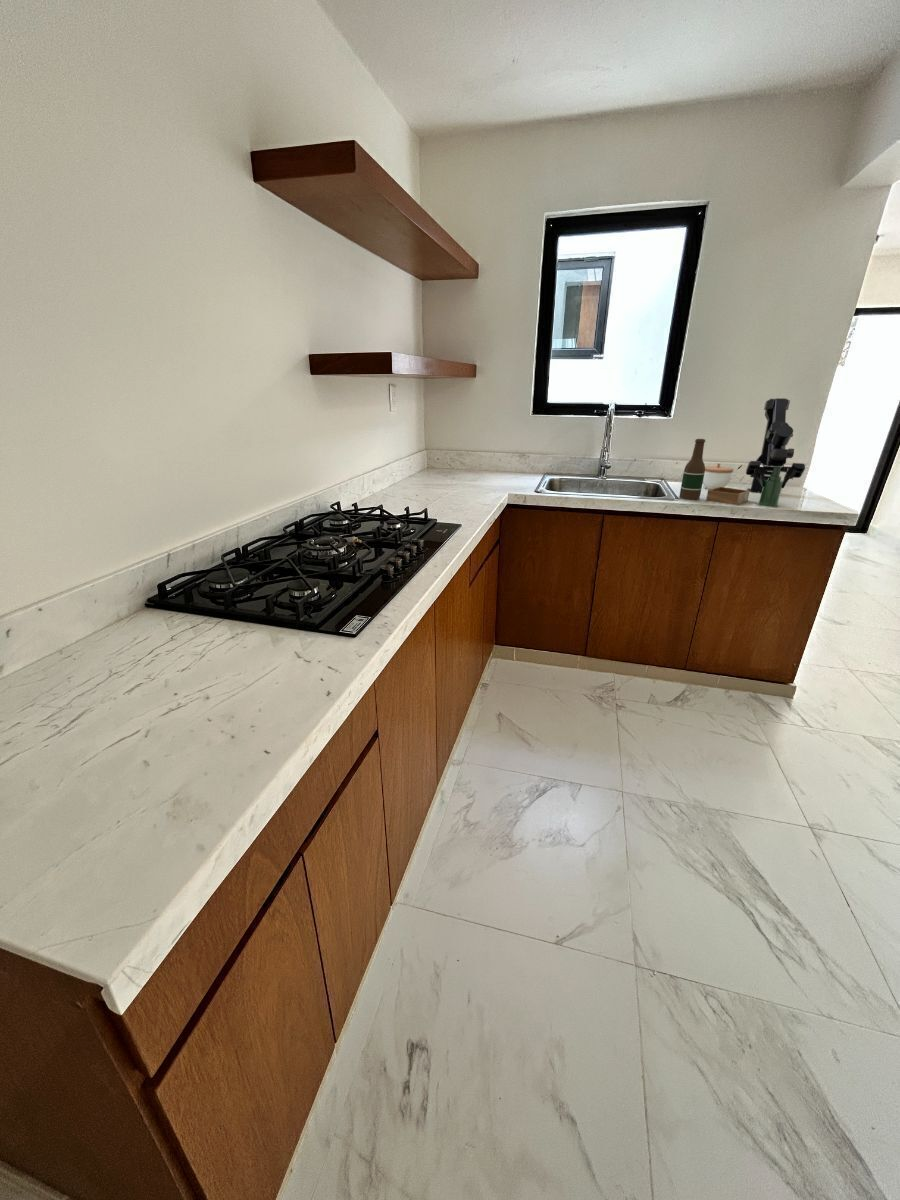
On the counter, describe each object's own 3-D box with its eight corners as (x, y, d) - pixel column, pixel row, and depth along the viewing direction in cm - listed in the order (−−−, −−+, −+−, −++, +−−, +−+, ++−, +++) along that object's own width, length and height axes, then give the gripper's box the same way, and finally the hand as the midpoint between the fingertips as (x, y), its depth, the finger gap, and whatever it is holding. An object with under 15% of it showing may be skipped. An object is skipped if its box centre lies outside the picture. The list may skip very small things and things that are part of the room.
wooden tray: (717, 497, 211) (719, 486, 209) (747, 501, 203) (749, 490, 201) (705, 501, 204) (708, 490, 202) (736, 505, 196) (738, 494, 194)
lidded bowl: (734, 490, 225) (740, 465, 221) (706, 490, 225) (711, 465, 221) (721, 485, 237) (726, 461, 233) (694, 485, 237) (698, 461, 233)
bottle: (754, 504, 198) (763, 466, 192) (767, 503, 200) (777, 465, 194) (768, 508, 192) (778, 468, 186) (781, 507, 194) (791, 467, 188)
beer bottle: (698, 498, 209) (710, 438, 200) (700, 501, 203) (712, 440, 193) (678, 496, 212) (689, 437, 202) (679, 500, 205) (690, 439, 196)
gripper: (754, 439, 193) (750, 472, 188) (811, 441, 186) (808, 475, 181) (747, 457, 203) (743, 489, 198) (801, 460, 196) (798, 493, 191)
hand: (773, 487), depth 192 cm, fingers closed on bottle, 6 cm apart
